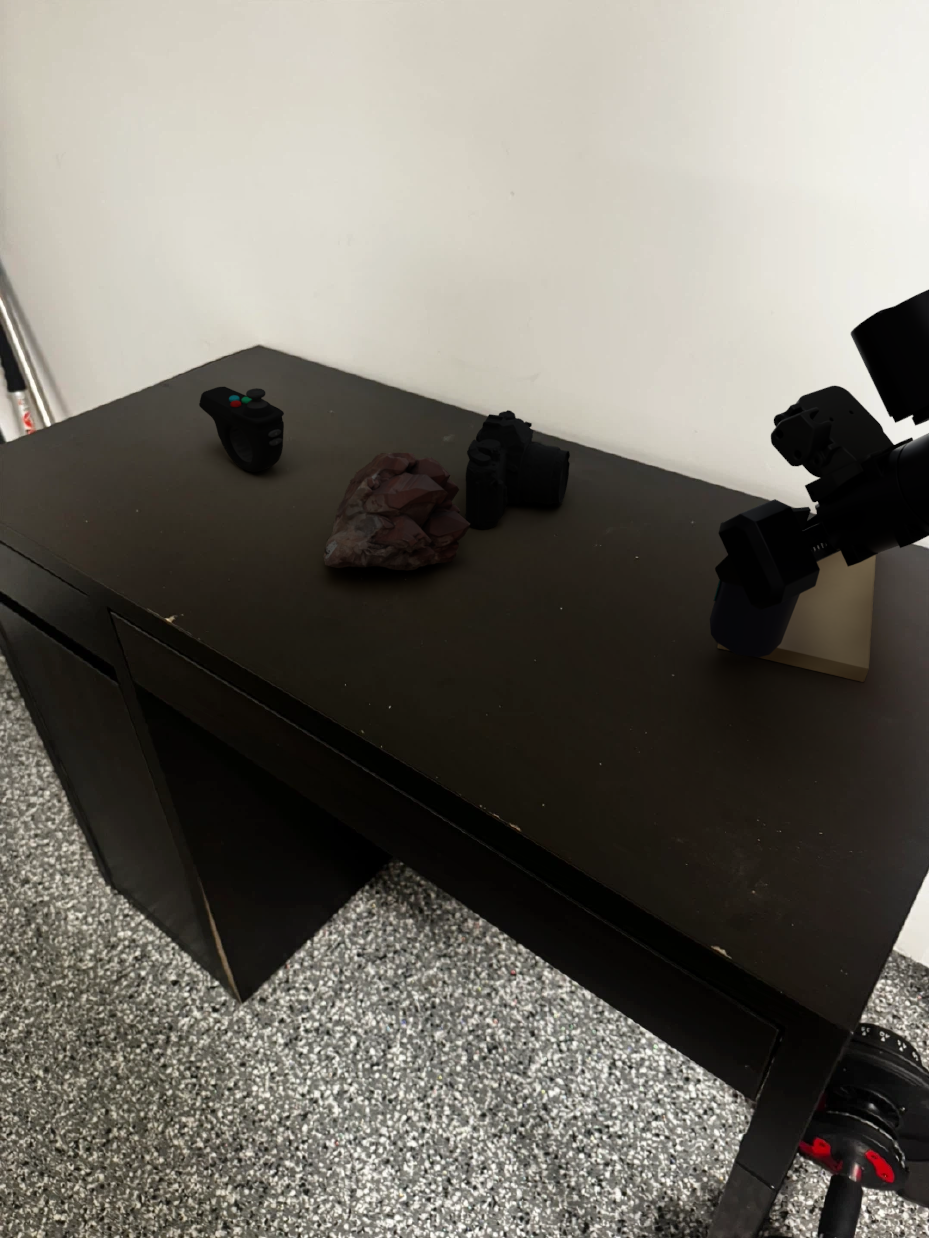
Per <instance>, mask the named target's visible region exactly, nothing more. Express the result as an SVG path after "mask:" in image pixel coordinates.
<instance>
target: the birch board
mask: <svg viewBox="0 0 929 1238" xmlns="http://www.w3.org/2000/svg"><path fill="white" fill-rule="evenodd" d="M876 559H877V554H876V555H874V556H872V557H870V558H868V559H866V560H864V561H862V562H860V563H857V564H854V565H852V566H849V567H848V566H847V564H846V562H845V559H844V557H843V555H842V553H841V551H839V552H837V553H835V554H833V555H831V556H829V557H826V558H824V559H822V560H820V561H818V562H817V564H818V566H819V568H820V571H819V575H818V579H817V582H816V586H815V587H813V588H811V589H809V590H807V591H805V592H803V593H801V594H800V595H799V598H798V600H797V603H796V606H795V608H794V611H793V613H792V616H791V619H790V621H789V624H788V626H787V629H786V632H785V634H784V637H783V639H782V642H781V644H780V645H779V646H778V647H777V648H776V649H775V650H774V651H773V652H772V653H771V654H770V655H766V656H762V657H757V658H759V659H762V660H768V661H772V662H776V663H779V664H784V665H787V666H793V667H797V668H801V669H806V670H810V671H814V672H818V673H823V674H827V675H831V676H836V677H841V678H844V679H848V680H853V681H856V682H861V683H865V681H866V678H867V675H868V673H869V670H870V656H871V641H872V626H873V625H872V624H873V608H874V593H875V579H876V578H875V577H876V576H875V575H876ZM716 648H717V649H720V650H724V651H729V652H731V651H730V650H728V649H727V648H725V647H724V646H722V645H720V644H719V643H717V646H716Z"/></svg>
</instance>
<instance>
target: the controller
mask: <svg viewBox="0 0 929 1238" xmlns="http://www.w3.org/2000/svg"><path fill="white" fill-rule="evenodd" d="M265 396H266V391H265V389H262V388H259V387H258V388H257V387H256V388H250V389H248V390H247V391H246V393H245V394H244V393H241V392H238V391H237V390H234V389H231V388H229V387H227V386H217V387H214V388H210V389H207V390H204V391H203V392H202V393H201V395H200V398H199V403H198V406H199V408H201V409H202V411H204V412H205V413H206V414H207V415H208V416H209V417H211V419H212V420H213V421H214V424H215V428H216V432H217V436H218V439H219V440H220V443H221V444H222V447H223V449H224V450H225V452H226V453H227V455H228V456H229V457H230V459H231V460H232V461H233V462H234V463H235V464H236V465H237V466H238V467H240V468H241V469H243V470H244V471H248V472H253V473H258V472H262V471H264V470H267V469H269V468H271V467H273V466H274V465H275V464H277V463H278V461H279V460H280V459H281V456H282V454H283V449H284V448H283V447H284V429H285V424H284V421H283V420H284V419H283V416H284V415H285V412H284V410H282V409H280V408H279V407H277V406H275V405H273V404H271V403H270V402H268V401H267V400H265V399H263V398H264V397H265Z"/></svg>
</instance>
